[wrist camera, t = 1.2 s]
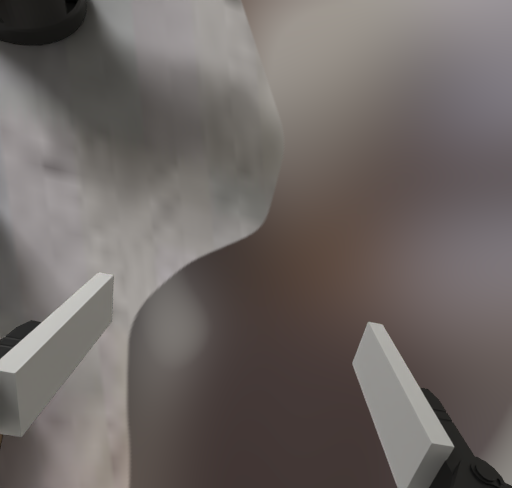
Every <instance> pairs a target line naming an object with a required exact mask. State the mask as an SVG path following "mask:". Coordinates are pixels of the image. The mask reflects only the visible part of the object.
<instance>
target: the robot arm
mask: <svg viewBox="0 0 512 488" xmlns="http://www.w3.org/2000/svg"><path fill="white" fill-rule="evenodd" d="M86 8H87V5H86V0H0V40H3V41H6V42H11V43H17V44H27V45H37V44H46V43H51V42H55V41H58V40H61V39H63V38H65V37H67V36H69V35H70V34H72V33H73V32H74V31H75V30H77V29H78V27H79V26H80V25H81V23H82V22H83V20H84V17H85V14H86ZM113 282H114V275H110V274H105V273H99V272H98V273H97V274H96V275H95V276H94V277H92V278H91V279H90V280H89V281H88V282H87V283H86V284H85V285H83V286H82V287H81V288H80V289H79V290H78V291H77V292H76V293H74V294H73V295H72V296H71V297H70V298H69V299H68V300H66V301H65V302H64V303H63V304H62V305H61V306H60V307H59V308H57V309H56V310H55V311H54V312H53V313H52V314H51V315H50V316H48V317H47V318H46V319H45V320H44V321H43V322H37V321H29V322H27V323H25V324H23V325H20V326H18V327H16V328H15V329H14V330H13V331H11V332H10V333H9V334H8V335H7V336H6V337H5V338H3V339H2V340H0V434H4V435H10V436H16V437H22V436H23V435H24V433H25V432H26V431H27V430H28V428H29V427H30V426H31V425H32V423H33V422H34V421H35V419H36V418H37V417H38V416H39V414H40V413H41V412H42V410H43V409H44V408H45V407H46V405H47V404H48V403H49V401H50V400H51V399H52V398H53V396H54V395H55V394H56V392H57V391H58V390H59V389H60V387H61V386H62V385H63V383H64V382H65V381H66V380H67V378H68V377H69V376H70V374H71V373H72V372H73V371H74V369H75V368H76V367H77V365H78V364H79V363H80V362H81V360H82V359H83V358H84V356H85V355H86V354H87V353H88V351H89V350H90V349H91V347H92V346H93V345H94V344H95V342H96V341H97V340H98V339H99V337H100V336H101V335H102V333H103V332H104V331H105V330H106V328H107V327H108V326H109V324H110V323H111V322H112V309H113ZM352 364H353V367H354V370H355V373H356V375H357V378H358V381H359V384H360V386H361V389H362V391H363V394H364V397H365V400H366V402H367V405H368V408H369V411H370V414H371V416H372V419H373V422H374V425H375V427H376V430H377V433H378V436H379V438H380V441H381V444H382V446H383V449H384V452H385V455H386V457H387V460H388V463H389V465H390V468H391V471H392V474H393V476H394V479H395V482H396V485H397V487H398V488H512V486H511V485H509V484H506V483H505V482H504V481H503V479H502V477H501V476H500V475H499V474H498V472H497V471H496V470H495V469H494V468H493V467H492V466H490V465H489V464H488V463H487V462H485V461H483V460H481V459H480V458H478V457H475V456H474V455H473V453H472V452H471V450H470V448H469V447H468V445H467V444H466V442H465V441H464V439H463V437H462V436H461V434H460V433H459V431H458V429H457V428H456V426H455V425H454V423H452V420H451V418H450V417H449V415H448V414H447V413H446V410H445V409H444V407H443V406H442V404H441V403H440V401H439V400H438V399H437V398H436V397H435V396H434V395H433V394H432V393H431V392H430V391H429V390H428V389H424V388H420V387H419V386H418V384H417V382H416V381H415V379H414V377H413V375H412V374H411V372H410V370H409V369H408V367H407V365H406V364H405V362H404V360H403V358H402V357H401V355H400V353H399V352H398V350H397V348H396V347H395V345H394V343H393V342H392V340H391V338H390V337H389V335H388V333H387V332H386V330H385V328H384V326H383V325H382V324H378V323H372V322H368V323H367V326H366V329H365V331H364V334H363V337H362V339H361V342H360V344H359V347H358V350H357V352H356V355H355V358H354V360H353V363H352Z"/></svg>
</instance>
